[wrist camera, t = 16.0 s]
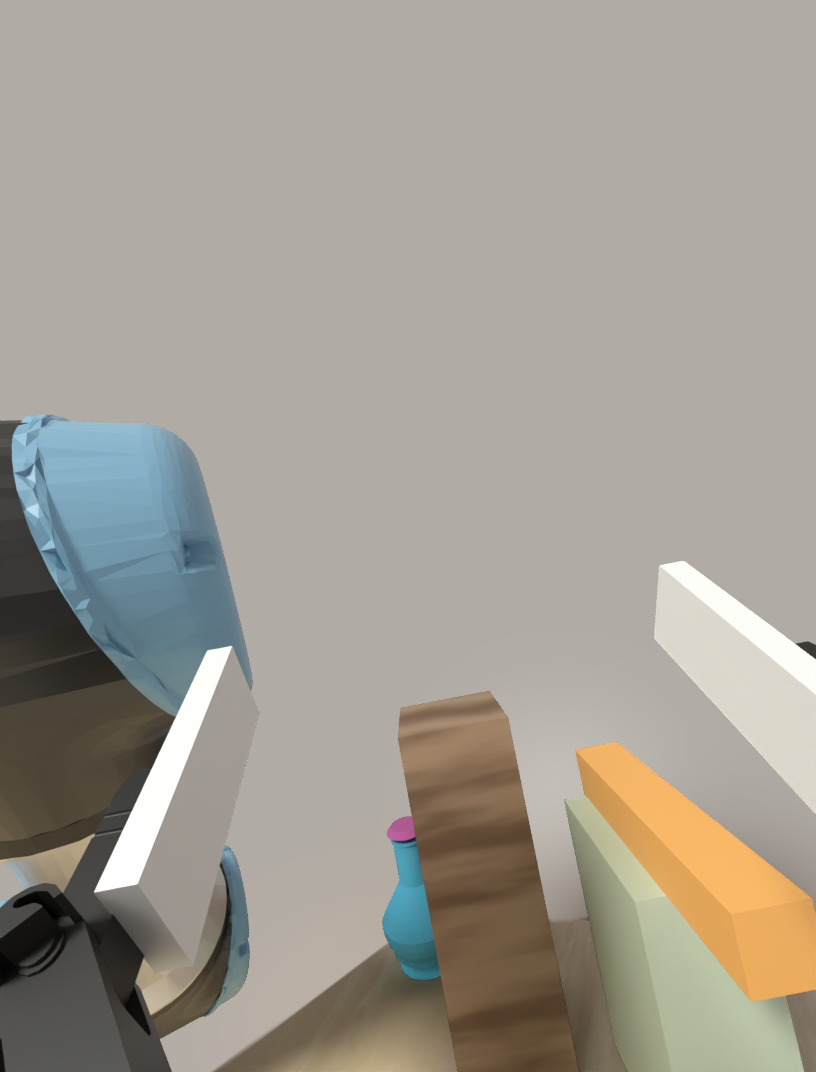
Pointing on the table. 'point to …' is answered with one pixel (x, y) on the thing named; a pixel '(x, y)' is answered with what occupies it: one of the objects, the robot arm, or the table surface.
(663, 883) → the bar
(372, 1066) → the table surface
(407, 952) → the perfume bottle
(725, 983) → the pale green rectangular block
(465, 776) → the post
